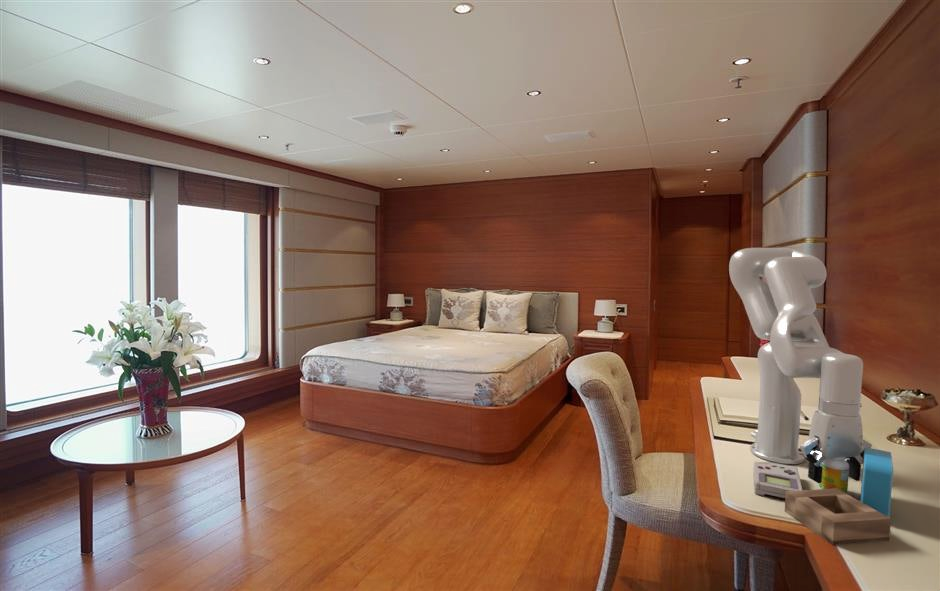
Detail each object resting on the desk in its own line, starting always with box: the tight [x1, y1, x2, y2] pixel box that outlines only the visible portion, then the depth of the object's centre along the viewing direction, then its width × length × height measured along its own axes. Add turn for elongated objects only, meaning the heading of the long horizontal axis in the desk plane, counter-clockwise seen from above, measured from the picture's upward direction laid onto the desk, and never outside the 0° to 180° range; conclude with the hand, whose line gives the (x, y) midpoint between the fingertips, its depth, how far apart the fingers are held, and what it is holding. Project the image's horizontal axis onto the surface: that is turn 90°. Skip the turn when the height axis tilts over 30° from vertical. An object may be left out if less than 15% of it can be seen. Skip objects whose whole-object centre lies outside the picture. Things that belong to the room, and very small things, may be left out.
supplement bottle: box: [818, 457, 850, 494], centre depth 112 cm, size 5×5×10 cm
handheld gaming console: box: [753, 461, 804, 499], centre depth 115 cm, size 9×4×15 cm
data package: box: [860, 447, 894, 518], centre depth 104 cm, size 12×4×12 cm, turn 141°
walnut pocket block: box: [784, 488, 892, 546], centre depth 98 cm, size 12×12×4 cm
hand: (833, 479), depth 112 cm, fingers open, 9 cm apart
